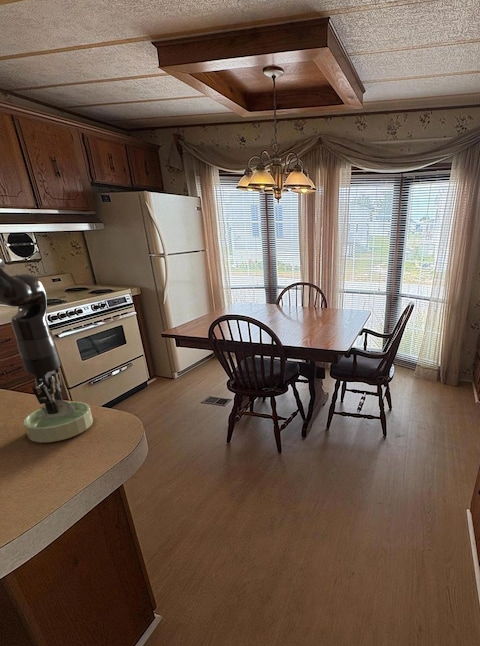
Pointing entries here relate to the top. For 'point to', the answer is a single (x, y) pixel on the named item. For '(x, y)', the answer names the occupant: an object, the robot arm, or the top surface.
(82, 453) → the top surface
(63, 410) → the crumpled paper
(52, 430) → the bowl
